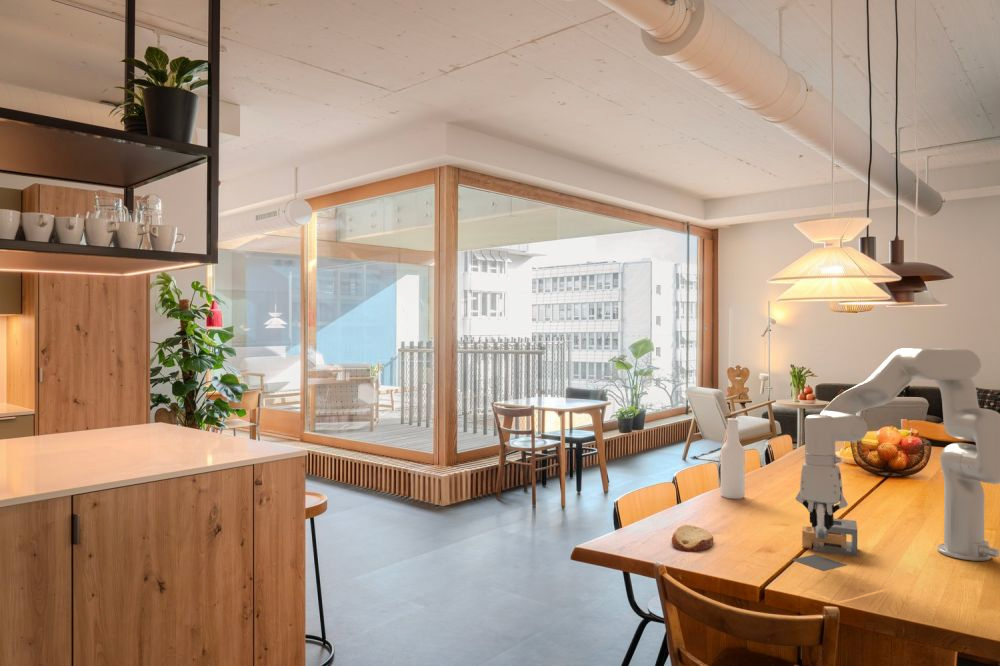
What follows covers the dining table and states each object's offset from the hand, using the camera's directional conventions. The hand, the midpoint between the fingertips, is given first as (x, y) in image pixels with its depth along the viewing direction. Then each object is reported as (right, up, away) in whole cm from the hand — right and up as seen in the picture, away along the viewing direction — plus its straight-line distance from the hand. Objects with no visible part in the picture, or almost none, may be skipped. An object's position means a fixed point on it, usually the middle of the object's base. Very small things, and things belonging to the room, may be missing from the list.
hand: (821, 526), depth 187 cm
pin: (0, -3, 0) cm, 3 cm away
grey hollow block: (+9, -10, +12) cm, 18 cm away
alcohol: (+1, -10, +76) cm, 77 cm away
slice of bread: (-30, -11, +20) cm, 38 cm away
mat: (-1, -10, 0) cm, 10 cm away
